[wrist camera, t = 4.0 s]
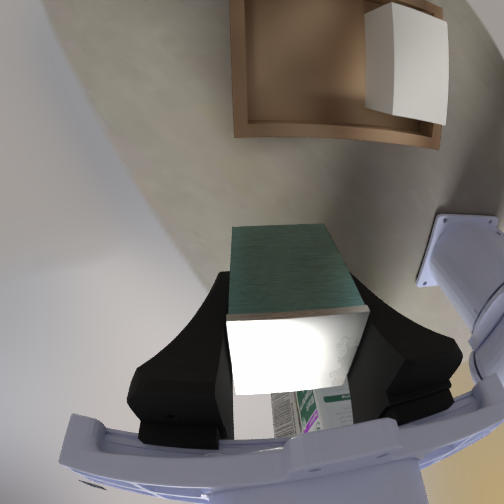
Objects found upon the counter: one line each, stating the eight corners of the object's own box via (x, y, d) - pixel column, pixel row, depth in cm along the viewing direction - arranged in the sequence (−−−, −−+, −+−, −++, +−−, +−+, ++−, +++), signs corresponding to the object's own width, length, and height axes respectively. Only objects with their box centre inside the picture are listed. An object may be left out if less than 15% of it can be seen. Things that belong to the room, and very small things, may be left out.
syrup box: (291, 293, 25) (322, 452, 13) (352, 293, 26) (407, 434, 13) (283, 335, 28) (302, 473, 16) (338, 333, 29) (373, 460, 16)
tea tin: (325, 222, 14) (370, 311, 8) (316, 294, 16) (342, 385, 11) (231, 226, 13) (225, 321, 8) (236, 298, 16) (236, 394, 11)
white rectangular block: (413, 27, 12) (446, 22, 9) (412, 115, 16) (445, 125, 13) (364, 14, 12) (391, 1, 9) (364, 107, 16) (392, 115, 13)
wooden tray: (423, 12, 12) (441, 7, 10) (420, 141, 18) (438, 150, 16) (230, -18, 12) (228, -31, 10) (235, 131, 18) (234, 137, 16)
